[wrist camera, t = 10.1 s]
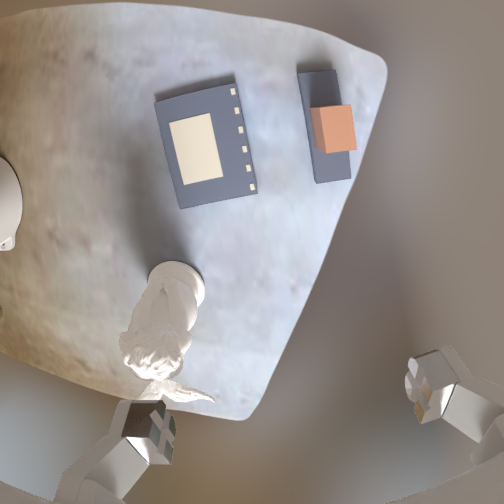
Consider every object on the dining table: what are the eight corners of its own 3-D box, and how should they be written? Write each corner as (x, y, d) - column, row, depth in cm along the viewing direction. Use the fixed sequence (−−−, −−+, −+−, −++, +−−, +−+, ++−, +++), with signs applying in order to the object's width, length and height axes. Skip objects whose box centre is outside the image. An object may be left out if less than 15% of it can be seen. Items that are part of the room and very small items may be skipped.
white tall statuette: (168, 242, 43) (117, 348, 23) (242, 286, 46) (245, 407, 26) (133, 302, 47) (84, 411, 27) (201, 339, 50) (186, 455, 30)
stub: (314, 181, 39) (326, 193, 34) (297, 74, 34) (306, 67, 28) (348, 176, 39) (365, 188, 34) (333, 70, 33) (348, 64, 28)
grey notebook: (181, 206, 41) (180, 209, 39) (156, 103, 35) (153, 102, 34) (257, 191, 40) (257, 193, 39) (235, 83, 34) (235, 82, 33)
